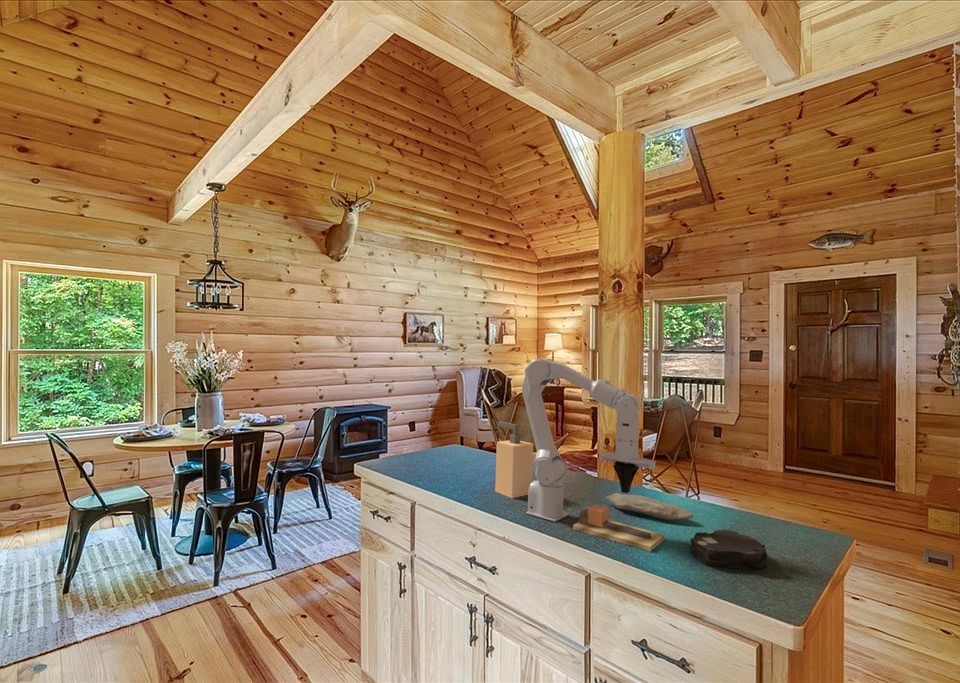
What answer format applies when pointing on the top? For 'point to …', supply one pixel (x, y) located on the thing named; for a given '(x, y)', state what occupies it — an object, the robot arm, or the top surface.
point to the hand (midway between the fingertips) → (625, 492)
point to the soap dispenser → (513, 464)
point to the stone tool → (648, 506)
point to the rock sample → (728, 550)
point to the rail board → (620, 533)
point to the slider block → (598, 515)
